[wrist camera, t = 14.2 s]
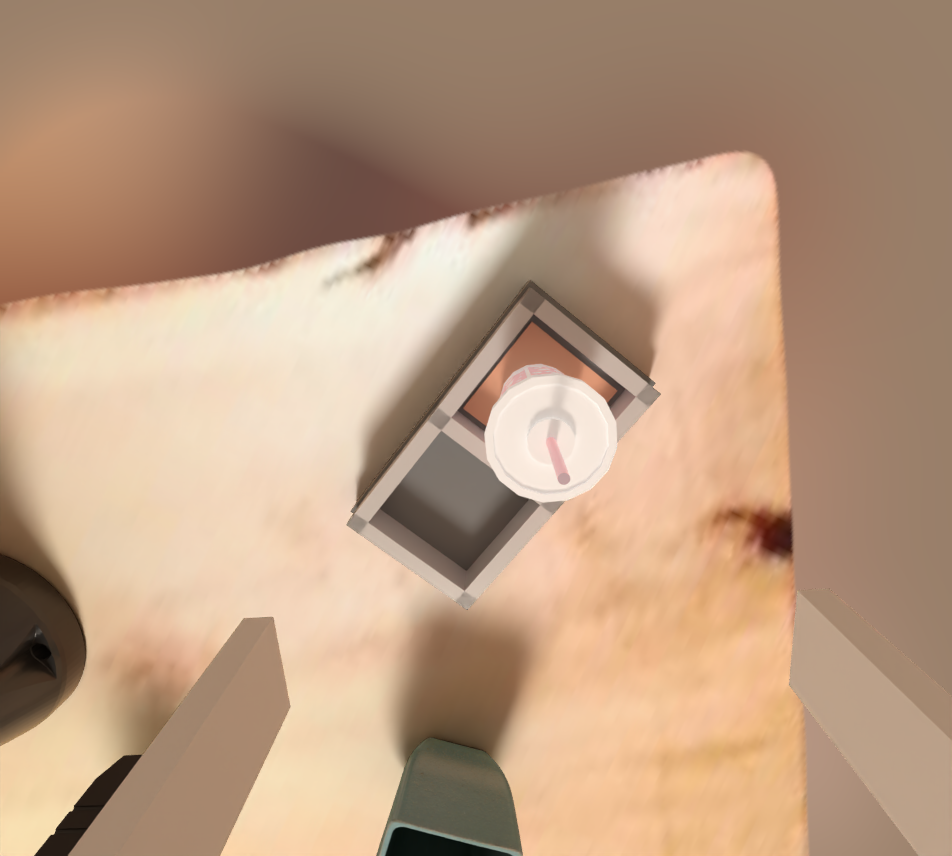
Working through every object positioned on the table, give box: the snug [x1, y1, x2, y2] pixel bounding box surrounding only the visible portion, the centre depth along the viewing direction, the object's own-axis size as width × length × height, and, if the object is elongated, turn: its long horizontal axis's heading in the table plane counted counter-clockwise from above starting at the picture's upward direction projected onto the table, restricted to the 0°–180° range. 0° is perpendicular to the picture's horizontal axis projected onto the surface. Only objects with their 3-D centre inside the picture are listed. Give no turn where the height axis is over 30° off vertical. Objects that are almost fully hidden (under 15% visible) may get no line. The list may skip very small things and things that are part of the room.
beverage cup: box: [484, 364, 617, 502], centre depth 26 cm, size 6×6×14 cm
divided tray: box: [346, 280, 661, 610], centre depth 34 cm, size 10×19×4 cm, turn 142°
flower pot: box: [376, 738, 523, 856], centre depth 39 cm, size 9×9×9 cm
